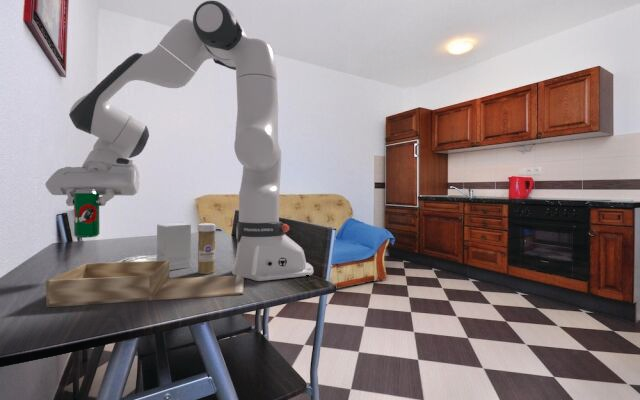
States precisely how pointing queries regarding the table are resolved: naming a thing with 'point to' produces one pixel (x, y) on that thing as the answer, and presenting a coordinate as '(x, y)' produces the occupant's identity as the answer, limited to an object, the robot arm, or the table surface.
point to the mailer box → (132, 284)
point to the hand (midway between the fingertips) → (85, 204)
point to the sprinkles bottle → (206, 248)
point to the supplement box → (174, 244)
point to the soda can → (86, 213)
